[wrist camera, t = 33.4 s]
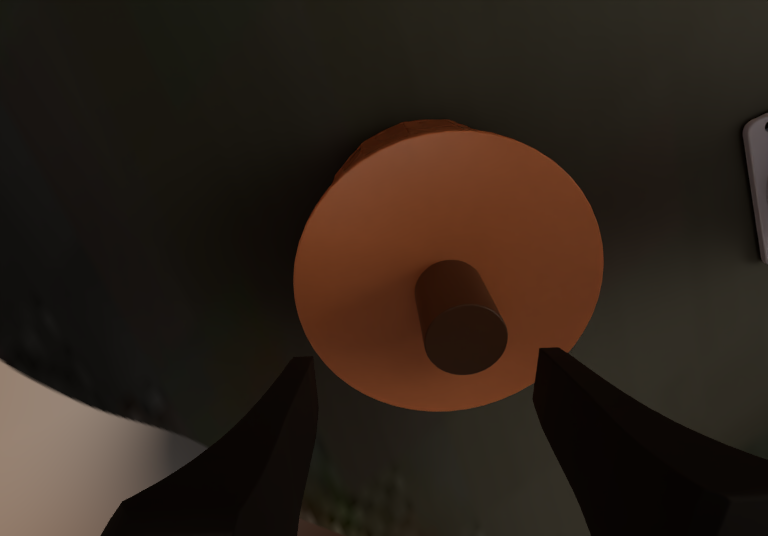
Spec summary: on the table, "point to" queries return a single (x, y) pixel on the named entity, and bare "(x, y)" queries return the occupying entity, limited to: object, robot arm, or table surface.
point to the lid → (447, 269)
